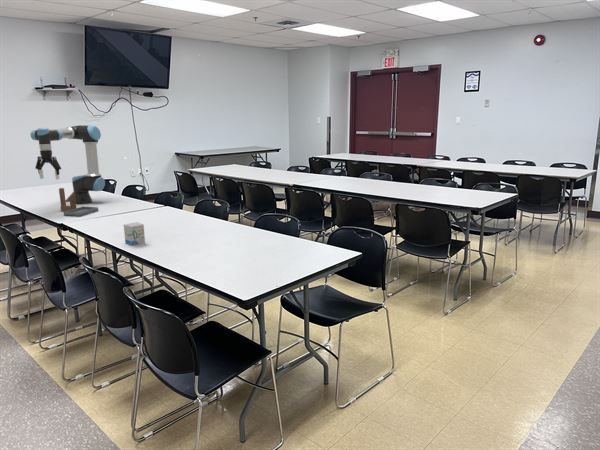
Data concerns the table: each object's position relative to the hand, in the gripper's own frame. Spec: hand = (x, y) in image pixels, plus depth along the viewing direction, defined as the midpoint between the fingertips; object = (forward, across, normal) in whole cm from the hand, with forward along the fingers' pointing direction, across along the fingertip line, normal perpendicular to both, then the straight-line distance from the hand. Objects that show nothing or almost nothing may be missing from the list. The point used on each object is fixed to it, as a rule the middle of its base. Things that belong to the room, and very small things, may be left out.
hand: (49, 178), depth 338 cm
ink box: (+28, +101, -52) cm, 117 cm away
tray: (+28, +15, +11) cm, 33 cm away
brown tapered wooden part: (+28, -2, +18) cm, 33 cm away
